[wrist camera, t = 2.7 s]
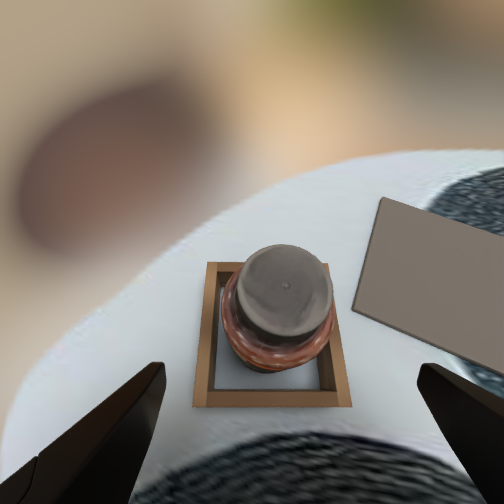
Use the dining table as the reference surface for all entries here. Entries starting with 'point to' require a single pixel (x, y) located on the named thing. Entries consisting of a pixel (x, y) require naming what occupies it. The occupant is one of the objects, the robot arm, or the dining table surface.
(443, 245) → the grey-brown square block
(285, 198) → the dining table surface
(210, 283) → the walnut box
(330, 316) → the supplement bottle
